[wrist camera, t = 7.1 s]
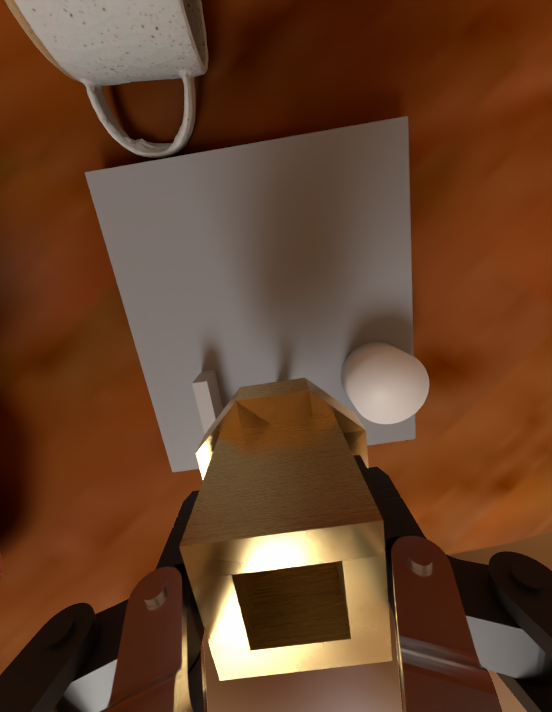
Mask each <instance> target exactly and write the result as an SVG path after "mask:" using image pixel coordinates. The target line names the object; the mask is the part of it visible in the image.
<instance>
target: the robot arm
mask: <svg viewBox="0 0 552 712" xmlns="http://www.w3.org/2000/svg"><path fill="white" fill-rule="evenodd" d="M354 459H355V461H356V463H357V465H358V467H359V469H360V471H361V474H362V476H363V478H364V480H365V482H366V484H367V486H368V489H369V491H370V493H371V495H372V497H373V499H374V501H375V504H376V506H377V508H378V510H379V512H380V514H381V516H382V519H383V523H384V539H385V556H386V572H387V588H388V602H389V603H390V606H391V609H392V611H393V614H394V617H395V631H396V643H397V654H398V667H399V679H400V691H401V703H402V712H502V709H501V706H500V703H499V699H498V696H497V694H496V690H495V687H494V685H493V682H492V679H491V677H490V675H489V672H488V671H487V670H491V671H494V672H496V673H497V674H498V675H499V677H500V678H501V679H502V680H503V682H504V683H505V684H506V686H507V687H508V688H509V689H510V690H511V692H512V693H513V694H514V696H515V697H516V698H517V699H518V701H519V702H520V703H521V704H522V706H523V707H524V708H525V709H526V710H527V712H552V571H551V570H550V569H548V568H547V567H546V566H544V565H543V564H541V563H540V562H538V561H536V560H534V559H532V558H530V557H528V556H525V555H522V554H519V553H515V552H499V553H496V554H495V555H493V556H492V557H491V559H490V561H489V565H485V564H479V563H474V562H469V561H463V560H459V559H456V558H453V557H450V556H448V555H446V554H445V553H444V552H443V551H442V550H441V549H440V548H439V547H438V546H437V545H436V544H434V543H433V542H431V541H429V540H427V539H426V537H425V536H424V534H423V533H422V531H421V529H420V528H419V526H418V524H417V523H416V521H415V519H414V518H413V516H412V514H411V513H410V511H409V509H408V508H407V506H406V504H405V503H404V501H403V499H402V498H401V497H400V494H399V493H398V491H397V489H395V486H394V484H393V483H392V481H391V479H390V478H389V476H388V475H387V474H386V473H384V472H383V471H382V470H380V469H379V468H378V467H372V468H367V467H366V465H365V463H364V461H363V459H362V457H361V456H360V455H355V456H354ZM198 493H199V491H193V492H192V493H191V494H190V495H189V496H188V497H187V499H186V500H185V501H184V502H183V504H182V506H181V509H180V511H179V514H178V517H177V519H176V521H175V523H174V528H172V531H171V533H170V536H169V538H168V540H167V543H166V545H165V548H164V550H163V553H162V555H161V557H160V560H159V562H158V565H157V567H156V569H155V570H154V571H152V572H151V573H149V574H148V575H146V576H145V577H144V578H143V579H142V580H141V581H140V582H139V583H138V584H137V585H136V587H135V588H134V590H133V591H132V593H131V595H130V597H129V599H127V600H125V601H123V602H121V603H119V604H117V605H115V606H113V607H110V608H108V609H106V610H104V611H102V612H99V613H97V614H95V613H94V610H93V608H92V607H91V606H90V605H89V604H87V603H78V604H74V605H72V606H69V607H67V608H65V609H64V610H62V611H60V612H59V613H58V614H56V615H55V616H54V617H52V618H51V619H50V620H49V621H48V622H47V623H46V624H45V625H44V626H43V627H42V628H41V629H40V630H39V631H38V633H37V634H36V635H35V636H34V637H33V638H32V640H31V641H30V642H29V643H28V644H27V645H26V646H25V648H24V649H23V650H22V651H21V652H20V653H19V654H18V656H17V657H16V658H15V659H14V660H13V661H12V662H11V664H10V665H9V666H8V667H7V668H6V669H5V671H4V672H3V673H2V674H1V675H0V712H208V710H207V693H206V676H205V661H204V647H203V644H202V639H203V634H204V626H203V623H202V620H201V616H200V613H199V610H198V607H197V603H196V600H195V597H194V594H193V590H192V587H191V584H190V580H189V577H188V574H187V571H186V567H185V564H184V561H183V558H182V554H181V551H180V548H179V546H180V543H181V540H182V538H183V535H184V532H185V529H186V526H187V524H188V521H189V518H190V515H191V512H192V510H193V507H194V504H195V501H196V499H197V496H198Z"/></svg>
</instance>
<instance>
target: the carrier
mask: <svg viewBox="0 0 552 712" xmlns="http://www.w3.org/2000/svg"><path fill="white" fill-rule="evenodd" d="M85 175H86V179H87V182H88V185H89V189H90V192H91V196H92V199H93V202H94V206H95V209H96V213H97V216H98V219H99V223H100V226H101V230H102V233H103V237H104V240H105V243H106V247H107V250H108V254H109V257H110V260H111V264H112V267H113V271H114V274H115V277H116V281H117V284H118V288H119V291H120V295H121V298H122V301H123V305H124V308H125V312H126V315H127V318H128V322H129V325H130V329H131V332H132V335H133V339H134V342H135V346H136V349H137V352H138V356H139V359H140V363H141V366H142V370H143V373H144V376H145V380H146V383H147V387H148V390H149V393H150V397H151V400H152V404H153V407H154V410H155V414H156V417H157V421H158V424H159V428H160V431H161V434H162V438H163V441H164V445H165V448H166V451H167V455H168V458H169V462H170V465H171V468H172V472H177V471H185V470H192V469H199V468H200V467H199V463H198V459H197V455H196V453H197V450H198V448H199V446H200V444H201V442H202V439H203V437H204V435H205V433H206V432H207V431H208V429H209V428H210V427H211V425H212V424H213V423H214V421H215V420H216V419H217V417H218V416H219V415H220V413H221V412H222V411H223V409H224V408H225V407H226V405H227V404H228V403H229V401H230V400H231V399H232V397H233V396H234V395H235V393H236V392H237V391H238V389H239V388H240V387H244V386H250V385H257V384H264V383H271V382H278V381H285V380H292V379H299V378H306V379H308V380H309V381H311V382H312V383H313V384H315V385H316V386H318V387H319V388H320V389H322V390H323V391H325V392H326V393H328V394H329V395H330V396H332V397H333V398H335V399H336V400H337V401H339V402H340V403H342V404H343V405H344V406H346V407H347V408H349V409H350V410H351V411H353V412H354V413H355V414H356V415H357V417H358V419H359V420H360V422H361V423H362V425H363V426H364V428H365V430H366V440H367V445H374V444H382V443H389V442H396V441H403V440H411V439H415V413H416V412H417V411H418V410H419V409H420V407H421V406H422V405H423V403H424V402H425V400H426V397H427V394H428V390H429V378H428V374H427V371H426V369H425V367H424V366H423V365H422V363H421V362H420V361H419V360H418V359H416V358H415V357H414V352H413V308H412V265H411V221H410V177H409V134H408V116H405V117H399V118H393V119H387V120H382V121H376V122H370V123H365V124H359V125H353V126H348V127H342V128H336V129H330V130H325V131H319V132H313V133H308V134H302V135H296V136H290V137H285V138H279V139H273V140H268V141H262V142H256V143H251V144H245V145H239V146H233V147H228V148H222V149H216V150H211V151H205V152H199V153H194V154H188V155H182V156H176V157H171V158H165V159H159V160H154V161H148V162H142V163H136V164H131V165H125V166H119V167H114V168H108V169H102V170H97V171H91V172H85Z"/></svg>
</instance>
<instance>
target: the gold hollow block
mask: <svg viewBox="0 0 552 712" xmlns="http://www.w3.org/2000/svg"><path fill="white" fill-rule="evenodd" d="M196 455H197V459H198V463H199V467H200V471H201V475H202V479H203V482H202V485H201V487H200V490H199V493H198V496H197V499H196V501H195V504H194V507H193V510H192V512H191V515H190V518H189V521H188V524H187V526H186V529H185V532H184V535H183V538H182V540H181V543H180V546H179V548H180V551H181V554H182V558H183V561H184V564H185V567H186V571H187V574H188V577H189V580H190V584H191V587H192V590H193V594H194V597H195V600H196V603H197V607H198V610H199V613H200V616H201V620H202V623H203V626H204V629H205V633H206V636H207V639H208V642H209V645H210V649H211V652H212V656H213V659H214V662H215V665H216V669H217V672H218V675H219V678H220V680H229V679H237V678H247V677H255V676H263V675H272V674H281V673H290V672H298V671H307V670H316V669H325V668H334V667H342V666H351V665H359V664H368V663H377V662H385V661H392V655H391V638H390V622H389V605H388V588H387V572H386V556H385V539H384V523H383V519H382V516H381V514H380V512H379V510H378V508H377V506H376V504H375V501H374V499H373V497H372V495H371V493H370V491H369V489H368V486H367V484H366V482H365V480H364V478H363V476H362V474H361V471H360V469H359V467H358V465H357V463H356V461H355V459H354V456H355V455H360V456H361V457H362V459H363V461H364V463H365V465H366V467H367V468H369V467H368V454H367V440H366V430H365V428H364V426H363V425H362V423H361V422H360V420H359V419H358V417H357V415H356V414H355V413H354V412H353V411H351V410H350V409H349V408H347V407H346V406H344V405H343V404H342V403H340V402H339V401H337V400H336V399H335V398H333V397H332V396H330V395H329V394H328V393H326V392H325V391H323V390H322V389H320V388H319V387H318V386H316V385H315V384H313V383H312V382H311V381H309V380H308V379H306V378H299V379H292V380H285V381H278V382H271V383H264V384H257V385H250V386H244V387H240V388H239V389H238V391H237V392H236V393H235V395H234V396H233V397H232V399H231V400H230V401H229V403H228V404H227V405H226V407H225V408H224V409H223V411H222V412H221V413H220V415H219V416H218V417H217V419H216V420H215V421H214V423H213V424H212V425H211V427H210V428H209V429H208V431H207V432H206V433H205V435H204V437H203V439H202V442H201V444H200V446H199V448H198V450H197V453H196Z"/></svg>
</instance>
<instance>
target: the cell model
mask: <svg viewBox="0 0 552 712" xmlns="http://www.w3.org/2000/svg"><path fill="white" fill-rule="evenodd" d="M1 572H2V569H1V547H0V579H1Z"/></svg>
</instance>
